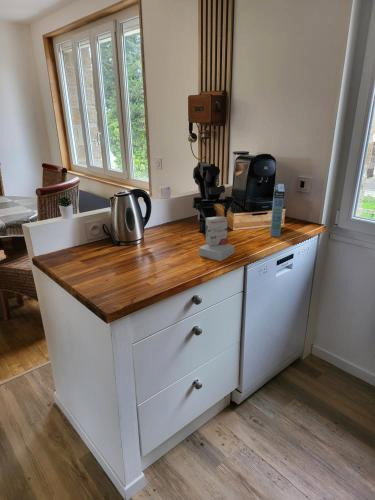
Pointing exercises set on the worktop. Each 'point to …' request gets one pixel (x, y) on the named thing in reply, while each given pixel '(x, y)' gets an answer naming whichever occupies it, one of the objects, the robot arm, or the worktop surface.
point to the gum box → (277, 210)
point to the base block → (216, 251)
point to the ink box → (216, 230)
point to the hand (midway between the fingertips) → (215, 218)
